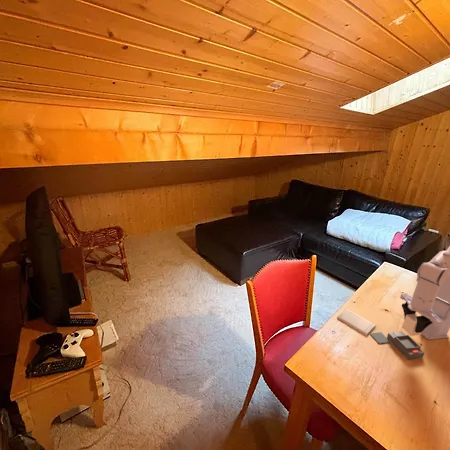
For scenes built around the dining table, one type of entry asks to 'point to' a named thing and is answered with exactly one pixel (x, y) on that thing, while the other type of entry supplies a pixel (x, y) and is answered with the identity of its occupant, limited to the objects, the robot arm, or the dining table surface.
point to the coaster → (380, 337)
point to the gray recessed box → (405, 345)
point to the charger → (410, 324)
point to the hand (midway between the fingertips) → (412, 327)
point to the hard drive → (356, 322)
